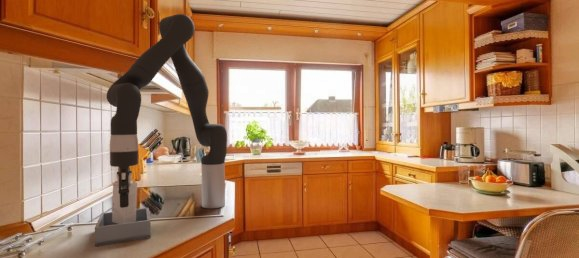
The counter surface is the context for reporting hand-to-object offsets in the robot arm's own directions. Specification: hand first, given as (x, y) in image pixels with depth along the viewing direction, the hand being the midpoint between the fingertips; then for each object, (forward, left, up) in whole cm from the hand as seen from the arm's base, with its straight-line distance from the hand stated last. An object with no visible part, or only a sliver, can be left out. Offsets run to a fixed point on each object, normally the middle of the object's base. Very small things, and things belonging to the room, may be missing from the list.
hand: (124, 204), depth 90 cm
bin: (0, 0, -9) cm, 9 cm away
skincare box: (0, 0, -6) cm, 6 cm away
